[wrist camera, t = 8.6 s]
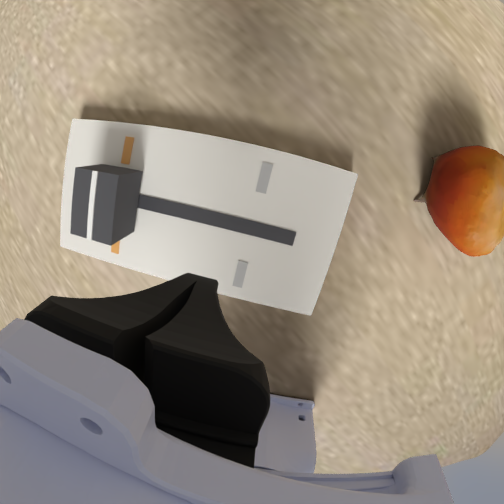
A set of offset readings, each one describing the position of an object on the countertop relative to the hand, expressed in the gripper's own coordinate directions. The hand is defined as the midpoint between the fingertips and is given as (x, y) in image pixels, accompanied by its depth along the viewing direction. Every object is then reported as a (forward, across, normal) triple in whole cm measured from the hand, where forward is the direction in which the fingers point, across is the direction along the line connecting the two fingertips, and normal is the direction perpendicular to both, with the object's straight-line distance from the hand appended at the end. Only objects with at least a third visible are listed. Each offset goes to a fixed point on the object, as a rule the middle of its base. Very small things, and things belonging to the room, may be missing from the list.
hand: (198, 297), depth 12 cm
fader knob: (+9, +9, -1) cm, 12 cm away
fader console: (+10, +4, -1) cm, 11 cm away
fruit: (+11, -16, -8) cm, 21 cm away
